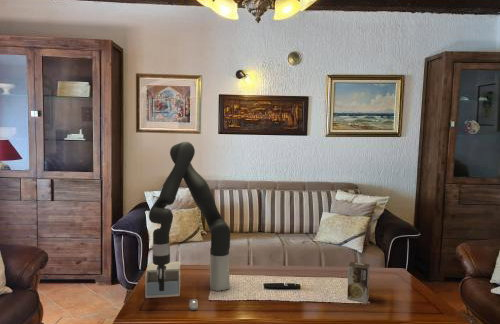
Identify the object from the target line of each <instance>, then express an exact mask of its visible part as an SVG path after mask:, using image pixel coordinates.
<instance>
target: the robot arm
mask: <svg viewBox="0 0 500 324" xmlns="http://www.w3.org/2000/svg"><path fill="white" fill-rule="evenodd" d="M195 151H196V150H195V146H194V145H193V144H192V143H191V142H189V141H183V142H182V141H181V142H179V143H177V144H175V145H173V146H172V147H171V148H170V150H169V156H170V158H171V160H172V162H173V163H174V165H173V167H172V169H171V171H170V173H169V174H168V176H167V178H166V179H165V181H164V182H163V185H162V187H161V190H160V194H159V196H158V197H157V199H156V200H155V202H154V203H153V205H152V207H151V208H150V210H149V213H148V219H149V221H150V223H152V224H158V225H160V227H158V228H155V229H154V230H153V231H152V263H153V264H155V265H158V266H157V278H158V283H159V291H164V282H165V276H166V266H165V265H166V264H168V263H170V262H171V245H170V232H171V227H172V225H173V220H174V215H173V212H172V210H171V209H169V208H166V207H167V206H171V205H173V204H174V203H175V200H176V197H177V195H178V191H179V189H180V186H181V183H182V181H183V180H184V182H185V185H186V187H187V188H188V190H189V194H190V195H191V197H192V199H193V201H194V203H195V204H196V206H197V207H198V209H199V210H200V211H201V213H202V215H203V217H204V219H205V222H206V223H207V226H208V230H209V233H210V249H209V251H210V252H209V264H210V265H209V288H210V290H211V291H215V290H216V291H215V292H222V291H221V290H223V291H227V290H230V248H231V229H230V226H229V225H228V224H227V222H226V221H225V219H223V216H222V215H221V213H220V212H219V210H218V208H217V204H216V201H215V198H214V195H213V193H212V190H211V189H210V185H208V182H207V181H206V180H205V178H204V177H202V176H201V174H199V173H198V172H197V171H196V169H195V168H194V166H193V165H192V160H193V159H194V156H195ZM226 289H227V290H226Z"/></svg>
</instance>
